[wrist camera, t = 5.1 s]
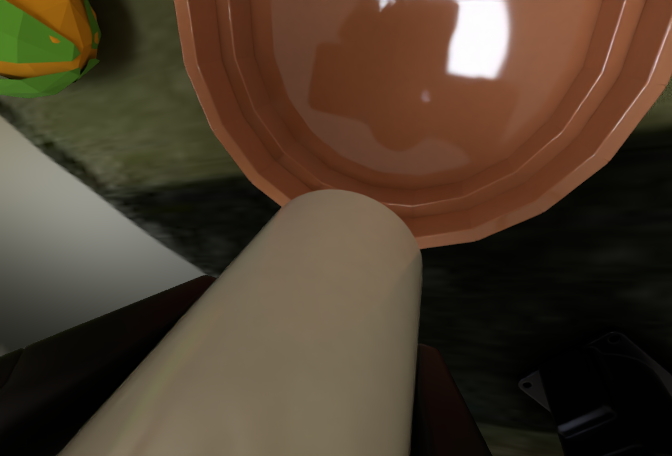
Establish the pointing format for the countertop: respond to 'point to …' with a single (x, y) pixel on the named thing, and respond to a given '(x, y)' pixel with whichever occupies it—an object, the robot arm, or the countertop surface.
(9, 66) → the corn
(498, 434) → the countertop surface
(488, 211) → the bowl
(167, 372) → the cylinder
